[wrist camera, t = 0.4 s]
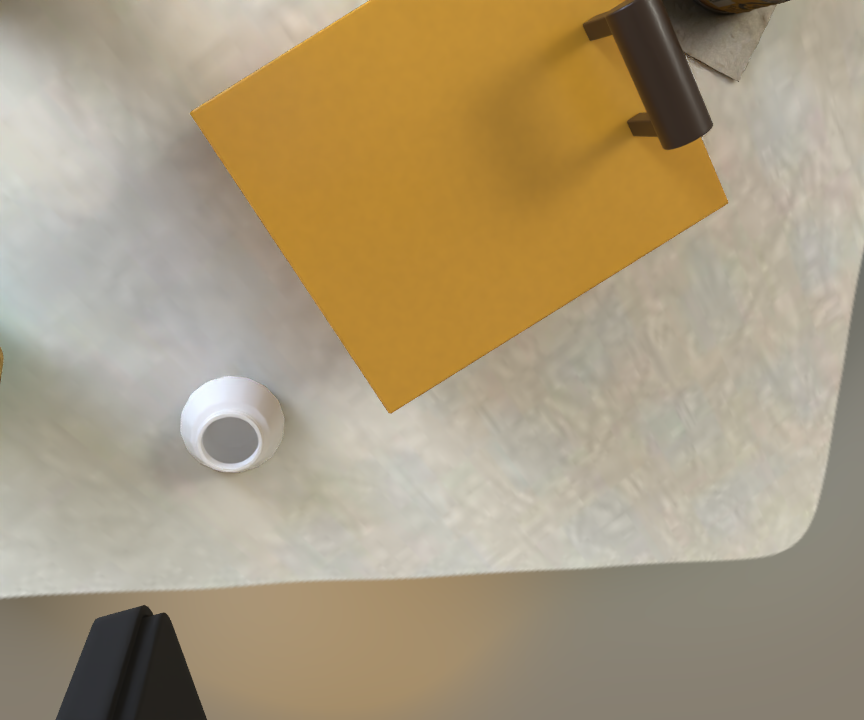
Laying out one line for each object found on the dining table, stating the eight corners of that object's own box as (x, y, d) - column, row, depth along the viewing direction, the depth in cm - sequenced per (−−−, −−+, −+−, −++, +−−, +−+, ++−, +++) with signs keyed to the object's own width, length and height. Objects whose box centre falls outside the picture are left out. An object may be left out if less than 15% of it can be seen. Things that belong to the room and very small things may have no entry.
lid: (579, -129, 28) (644, -185, 23) (719, 201, 33) (799, 215, 28) (191, 113, 28) (170, 109, 23) (387, 408, 33) (406, 460, 28)
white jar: (179, 463, 39) (279, 468, 41) (171, 488, 37) (278, 493, 38) (185, 370, 38) (288, 378, 39) (177, 389, 35) (288, 397, 36)
